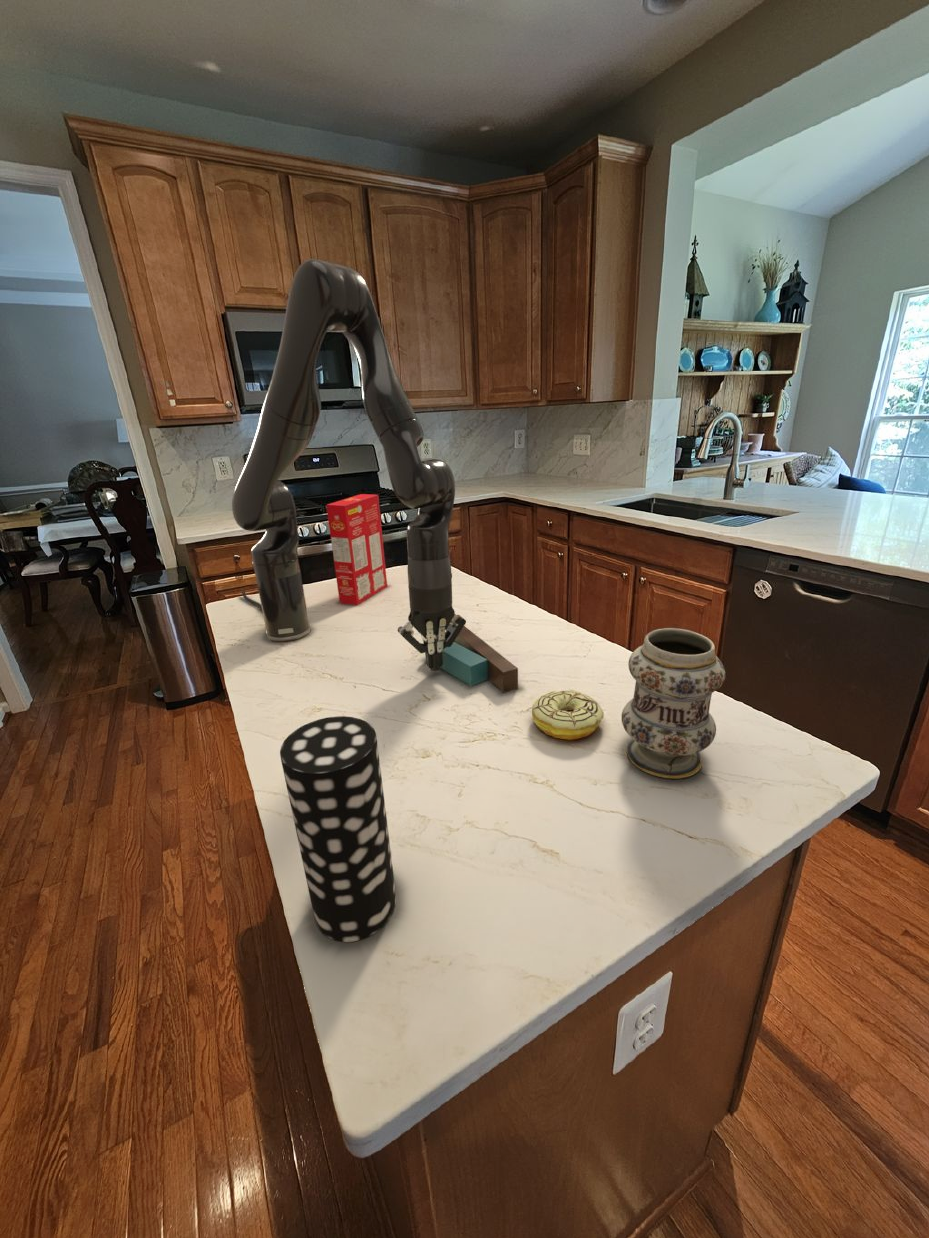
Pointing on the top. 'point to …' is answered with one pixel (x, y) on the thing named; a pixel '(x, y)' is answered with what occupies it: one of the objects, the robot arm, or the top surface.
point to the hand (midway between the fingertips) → (434, 669)
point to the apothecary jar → (672, 702)
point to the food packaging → (357, 547)
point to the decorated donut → (567, 714)
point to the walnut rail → (490, 660)
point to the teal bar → (465, 664)
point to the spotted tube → (341, 825)
